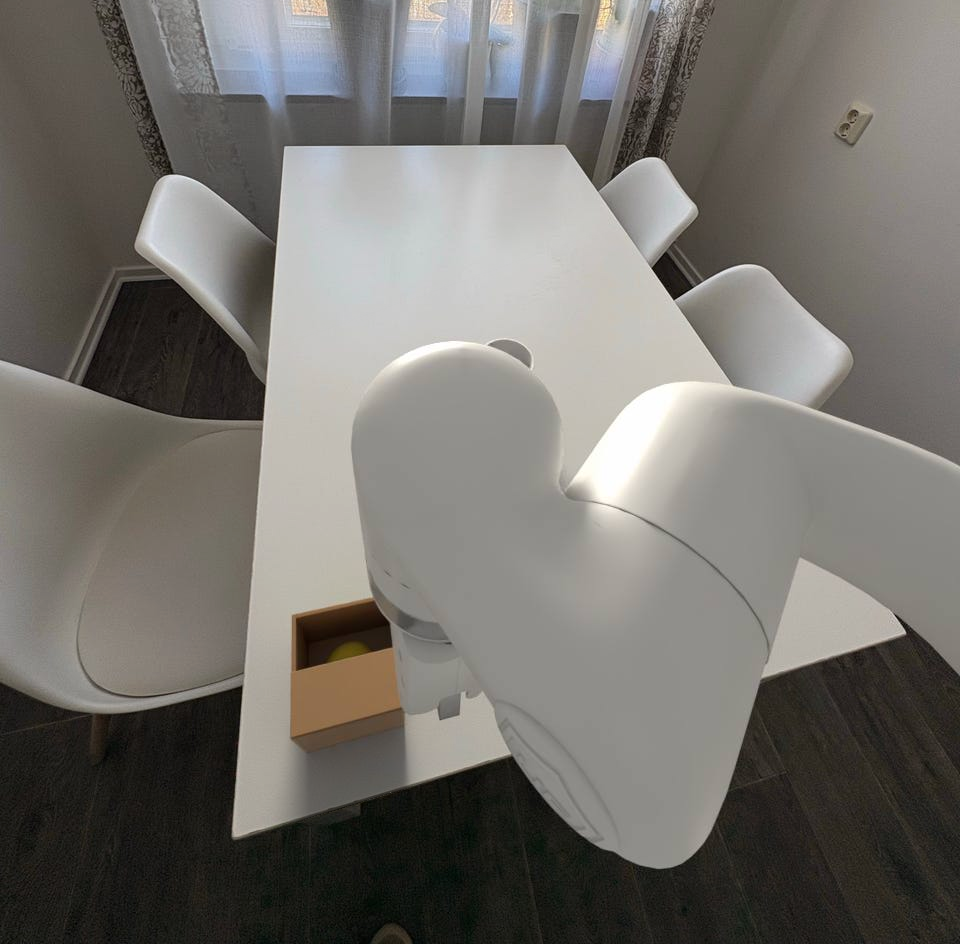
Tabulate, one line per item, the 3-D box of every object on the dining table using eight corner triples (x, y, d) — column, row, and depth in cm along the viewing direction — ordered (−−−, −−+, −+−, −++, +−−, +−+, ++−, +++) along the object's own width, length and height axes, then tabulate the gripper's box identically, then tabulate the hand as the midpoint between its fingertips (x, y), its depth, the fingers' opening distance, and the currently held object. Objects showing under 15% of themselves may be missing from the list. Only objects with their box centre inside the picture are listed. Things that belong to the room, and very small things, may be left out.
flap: (404, 707, 47) (404, 706, 47) (290, 738, 45) (290, 737, 45) (397, 647, 51) (397, 646, 50) (291, 673, 48) (290, 672, 48)
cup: (468, 388, 86) (475, 340, 78) (515, 384, 87) (527, 336, 79) (476, 431, 80) (484, 384, 72) (526, 426, 82) (540, 379, 74)
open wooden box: (404, 725, 55) (405, 708, 48) (306, 752, 53) (290, 740, 45) (393, 621, 62) (392, 592, 54) (305, 641, 59) (291, 614, 52)
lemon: (345, 728, 54) (339, 715, 48) (317, 678, 57) (307, 662, 51) (390, 684, 57) (389, 668, 51) (361, 639, 60) (357, 619, 54)
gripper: (354, 429, 30) (369, 549, 43) (383, 765, 20) (391, 792, 33) (481, 410, 32) (459, 531, 45) (565, 711, 22) (505, 756, 35)
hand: (430, 642), depth 39 cm, fingers closed
